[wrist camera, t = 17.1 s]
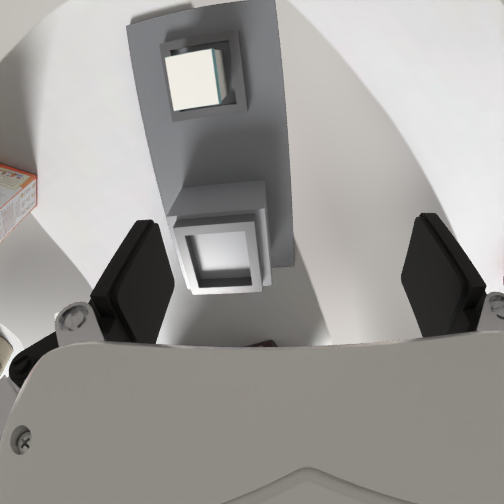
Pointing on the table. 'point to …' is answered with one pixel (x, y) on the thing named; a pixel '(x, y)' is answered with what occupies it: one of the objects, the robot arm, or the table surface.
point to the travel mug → (4, 353)
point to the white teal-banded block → (196, 78)
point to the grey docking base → (220, 145)
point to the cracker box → (15, 197)
